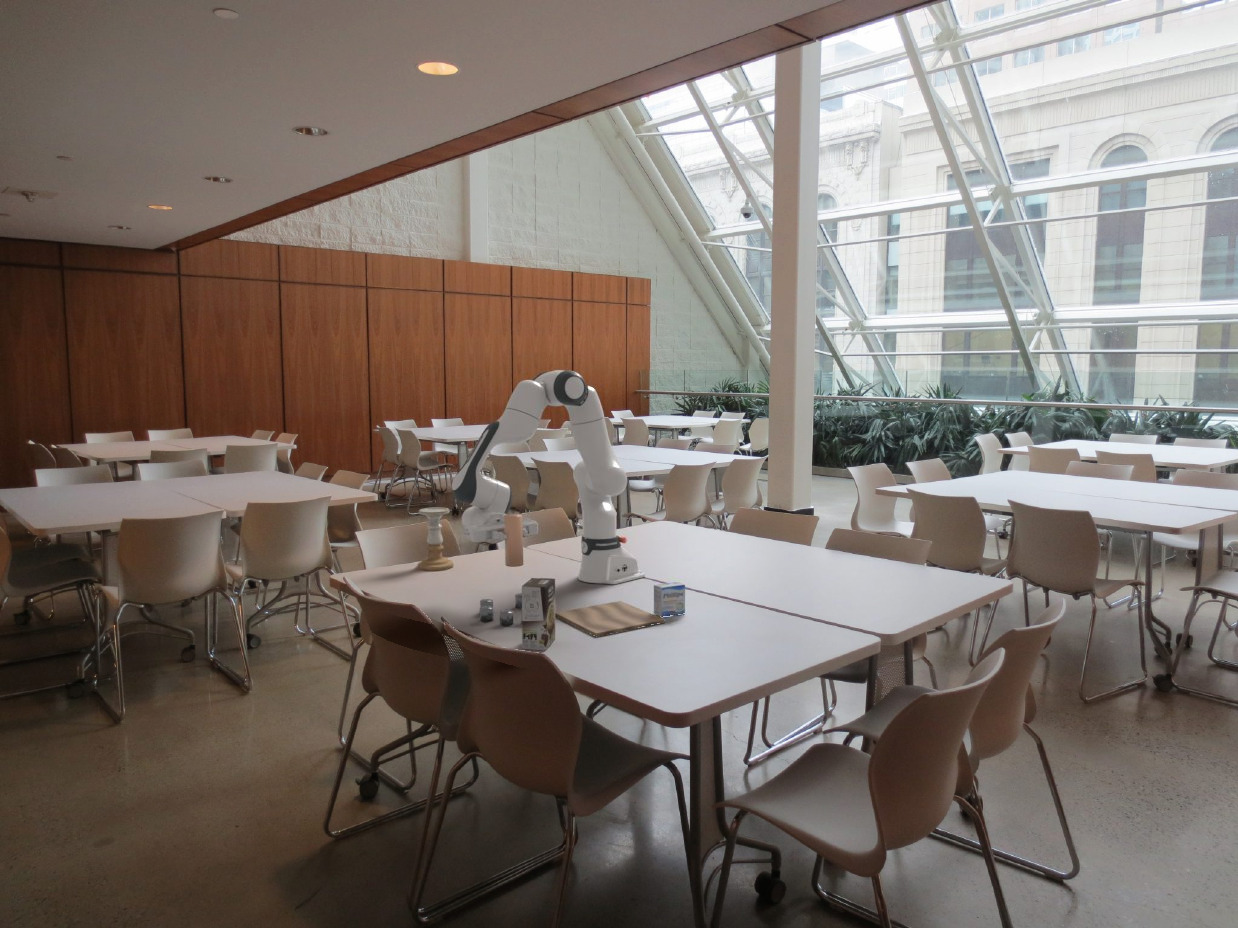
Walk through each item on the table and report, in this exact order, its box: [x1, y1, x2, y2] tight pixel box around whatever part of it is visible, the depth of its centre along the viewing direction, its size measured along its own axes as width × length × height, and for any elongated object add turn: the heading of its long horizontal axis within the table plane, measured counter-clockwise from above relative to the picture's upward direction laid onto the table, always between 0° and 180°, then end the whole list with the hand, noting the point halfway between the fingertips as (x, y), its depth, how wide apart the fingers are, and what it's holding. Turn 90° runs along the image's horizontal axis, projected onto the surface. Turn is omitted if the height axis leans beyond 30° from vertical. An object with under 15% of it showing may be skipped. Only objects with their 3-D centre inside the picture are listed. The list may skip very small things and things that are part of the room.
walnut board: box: [555, 600, 666, 637], centre depth 235 cm, size 22×22×1 cm
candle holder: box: [416, 506, 454, 572], centre depth 295 cm, size 12×12×20 cm
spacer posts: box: [479, 592, 522, 627], centre depth 238 cm, size 21×19×4 cm
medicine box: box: [653, 581, 686, 618], centre depth 239 cm, size 8×4×9 cm, turn 117°
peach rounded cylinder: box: [504, 513, 524, 568], centre depth 236 cm, size 5×5×14 cm
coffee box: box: [521, 577, 556, 651], centre depth 213 cm, size 9×6×16 cm
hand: (515, 535), depth 235 cm, fingers closed on peach rounded cylinder, 5 cm apart
